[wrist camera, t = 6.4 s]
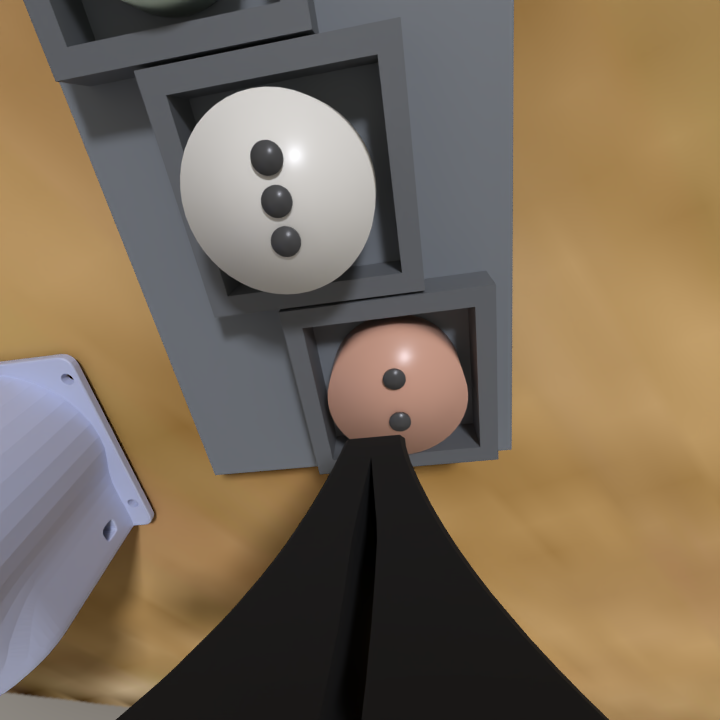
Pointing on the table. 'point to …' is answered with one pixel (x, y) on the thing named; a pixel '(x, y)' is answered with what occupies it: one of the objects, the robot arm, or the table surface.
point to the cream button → (278, 189)
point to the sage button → (170, 6)
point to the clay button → (398, 382)
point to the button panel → (391, 216)
